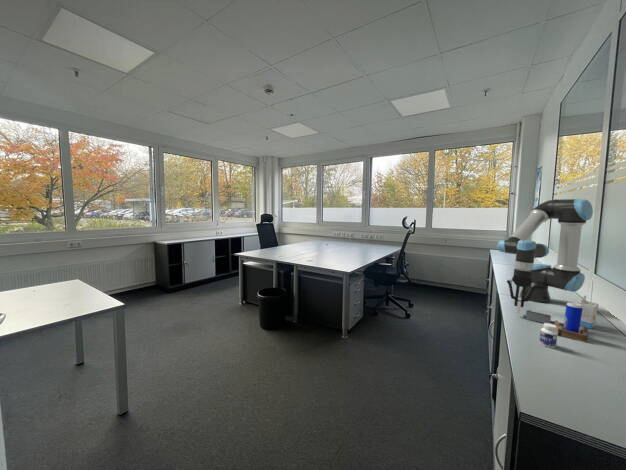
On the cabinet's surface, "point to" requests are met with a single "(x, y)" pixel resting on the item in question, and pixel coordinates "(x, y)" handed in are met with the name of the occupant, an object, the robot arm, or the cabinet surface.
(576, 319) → the beverage can
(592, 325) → the ink box
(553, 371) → the cabinet surface
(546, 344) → the pill bottle
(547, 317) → the latch block with knob
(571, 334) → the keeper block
